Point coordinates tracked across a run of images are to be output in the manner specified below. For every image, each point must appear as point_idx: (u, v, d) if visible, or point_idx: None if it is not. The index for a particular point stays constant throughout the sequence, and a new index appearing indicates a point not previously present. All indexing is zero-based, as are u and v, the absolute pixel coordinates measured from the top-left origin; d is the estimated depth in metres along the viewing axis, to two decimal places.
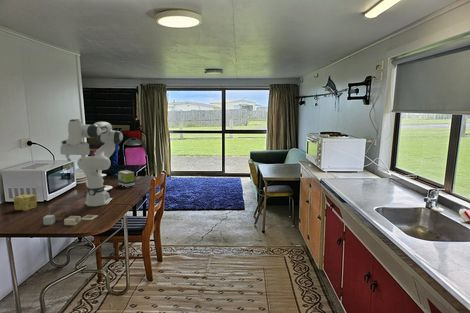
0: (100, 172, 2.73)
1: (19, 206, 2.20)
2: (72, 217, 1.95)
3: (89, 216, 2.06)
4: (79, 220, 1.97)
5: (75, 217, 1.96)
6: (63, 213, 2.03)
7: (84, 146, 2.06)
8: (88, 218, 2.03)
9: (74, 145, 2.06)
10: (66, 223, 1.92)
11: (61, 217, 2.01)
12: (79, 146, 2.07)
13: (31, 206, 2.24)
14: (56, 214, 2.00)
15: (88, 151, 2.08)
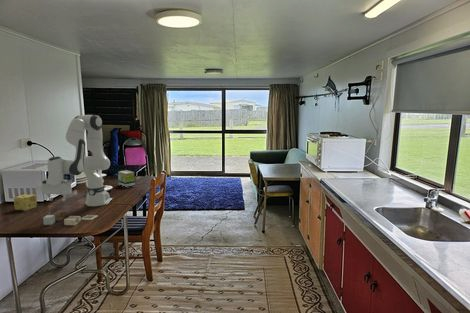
0: (100, 172, 2.73)
1: (19, 206, 2.20)
2: (72, 217, 1.95)
3: (89, 216, 2.06)
4: (79, 220, 1.97)
5: (75, 217, 1.96)
6: (63, 213, 2.03)
7: (65, 186, 1.97)
8: (88, 218, 2.03)
9: (55, 185, 1.96)
10: (67, 223, 1.92)
11: (61, 217, 2.01)
12: (60, 186, 1.97)
13: (31, 206, 2.24)
14: (56, 214, 2.00)
15: (70, 190, 1.99)
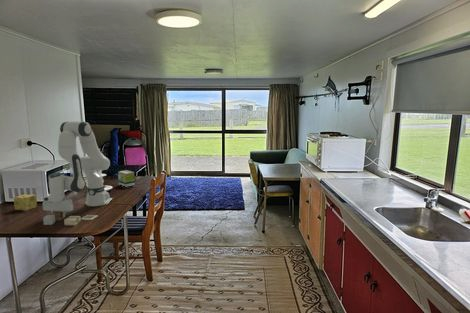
0: (100, 172, 2.73)
1: (19, 206, 2.20)
2: (72, 217, 1.95)
3: (89, 216, 2.06)
4: (79, 220, 1.97)
5: (75, 217, 1.96)
6: None
7: (67, 203, 1.98)
8: (88, 218, 2.03)
9: (56, 202, 1.98)
10: (67, 223, 1.92)
11: (61, 217, 2.01)
12: (62, 203, 1.99)
13: (31, 206, 2.24)
14: (56, 214, 2.00)
15: (72, 207, 2.01)
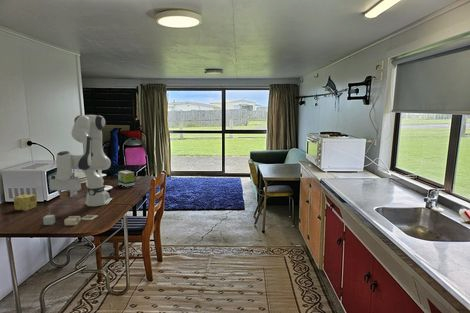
0: (100, 172, 2.73)
1: (19, 206, 2.20)
2: (72, 217, 1.95)
3: (89, 216, 2.06)
4: (79, 220, 1.97)
5: (75, 217, 1.96)
6: None
7: (74, 181, 1.91)
8: (88, 218, 2.03)
9: (64, 180, 1.90)
10: (67, 223, 1.92)
11: (68, 197, 1.93)
12: (69, 181, 1.91)
13: (31, 206, 2.24)
14: (63, 193, 1.92)
15: (79, 186, 1.93)
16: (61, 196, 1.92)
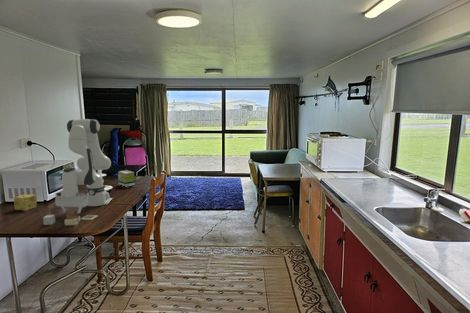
0: (100, 172, 2.73)
1: (19, 206, 2.20)
2: None
3: (89, 216, 2.06)
4: (79, 220, 1.98)
5: None
6: (76, 211, 1.95)
7: (81, 198, 1.91)
8: (88, 218, 2.03)
9: (70, 197, 1.90)
10: (67, 223, 1.92)
11: (75, 215, 1.94)
12: (75, 198, 1.91)
13: (31, 206, 2.24)
14: (69, 212, 1.92)
15: (85, 203, 1.93)
16: (67, 215, 1.92)
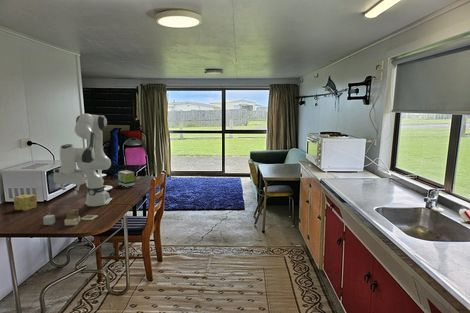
0: (100, 172, 2.73)
1: (19, 206, 2.20)
2: None
3: (89, 216, 2.06)
4: (79, 220, 1.98)
5: None
6: (77, 211, 1.95)
7: (79, 175, 1.88)
8: (88, 218, 2.03)
9: (68, 174, 1.88)
10: (67, 223, 1.92)
11: (75, 215, 1.94)
12: (73, 175, 1.89)
13: (31, 206, 2.24)
14: (70, 212, 1.92)
15: (84, 180, 1.90)
16: (68, 215, 1.92)
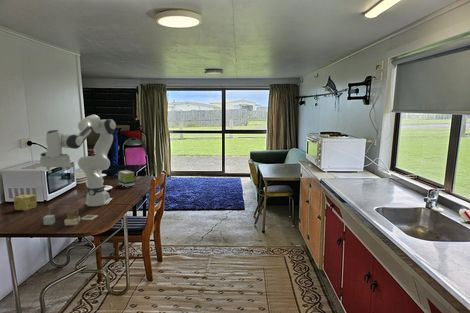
0: (100, 172, 2.73)
1: (19, 206, 2.20)
2: None
3: (89, 216, 2.06)
4: (79, 220, 1.98)
5: None
6: (77, 211, 1.96)
7: (64, 158, 2.01)
8: (88, 218, 2.03)
9: (54, 157, 2.00)
10: (67, 223, 1.92)
11: (75, 215, 1.94)
12: (59, 158, 2.01)
13: (31, 206, 2.24)
14: (70, 212, 1.92)
15: (69, 163, 2.03)
16: (68, 215, 1.92)
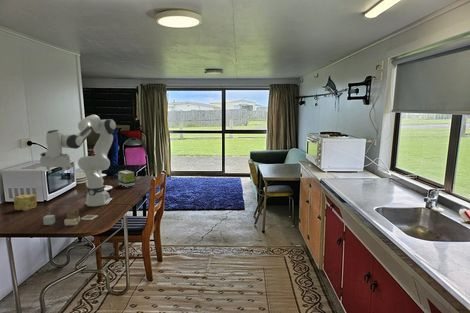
0: (100, 172, 2.73)
1: (19, 206, 2.20)
2: None
3: (89, 216, 2.06)
4: (79, 220, 1.98)
5: None
6: (77, 211, 1.96)
7: (64, 158, 2.01)
8: (88, 218, 2.03)
9: (54, 157, 2.00)
10: (67, 223, 1.92)
11: (75, 215, 1.94)
12: (59, 158, 2.01)
13: (31, 206, 2.24)
14: (70, 212, 1.93)
15: (69, 163, 2.03)
16: (68, 215, 1.93)
